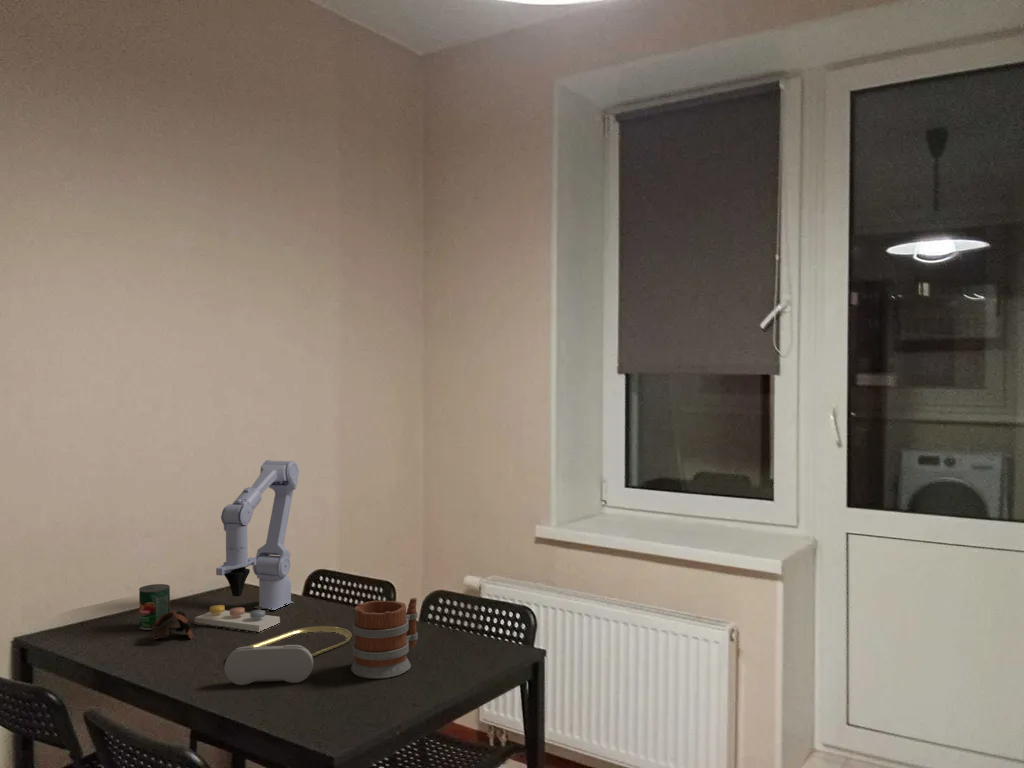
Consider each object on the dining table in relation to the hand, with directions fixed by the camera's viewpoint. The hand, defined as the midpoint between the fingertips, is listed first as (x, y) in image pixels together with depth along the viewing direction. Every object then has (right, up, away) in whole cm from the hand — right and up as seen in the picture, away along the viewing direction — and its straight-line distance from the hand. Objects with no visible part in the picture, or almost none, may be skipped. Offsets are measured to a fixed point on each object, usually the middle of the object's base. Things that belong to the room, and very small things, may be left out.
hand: (237, 595), depth 237 cm
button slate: (+7, -6, -3) cm, 9 cm away
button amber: (-7, -6, +3) cm, 9 cm away
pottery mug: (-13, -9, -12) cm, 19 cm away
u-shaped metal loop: (+21, -9, -22) cm, 32 cm away
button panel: (0, -8, 0) cm, 8 cm away
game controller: (+22, -9, -45) cm, 51 cm away
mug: (+48, -8, -35) cm, 60 cm away
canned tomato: (-22, -8, -2) cm, 24 cm away
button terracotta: (0, -6, 0) cm, 6 cm away
